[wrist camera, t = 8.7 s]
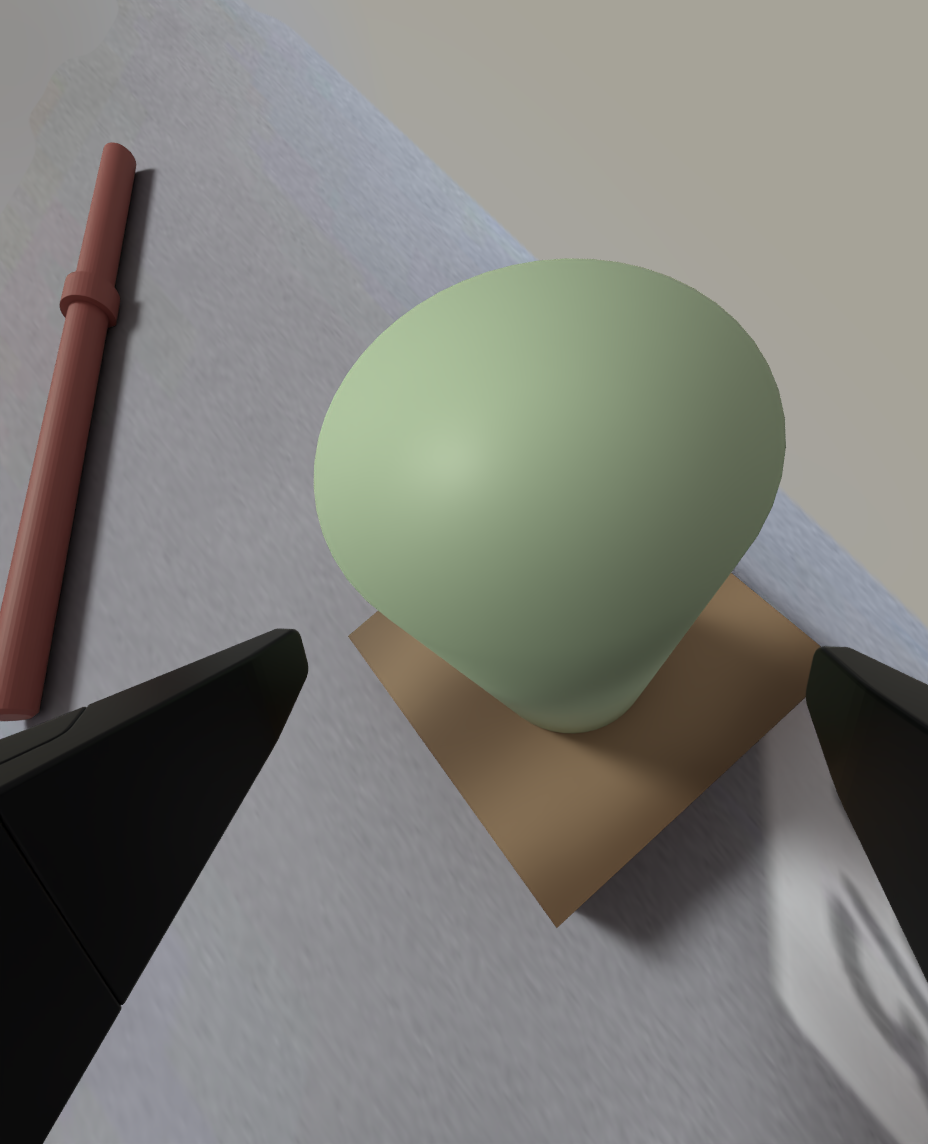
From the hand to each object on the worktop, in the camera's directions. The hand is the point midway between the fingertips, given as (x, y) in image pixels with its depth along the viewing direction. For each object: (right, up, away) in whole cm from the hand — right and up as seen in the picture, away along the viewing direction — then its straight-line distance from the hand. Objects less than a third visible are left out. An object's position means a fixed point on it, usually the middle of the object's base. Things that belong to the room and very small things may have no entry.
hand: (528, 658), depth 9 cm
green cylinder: (+2, -1, +9) cm, 9 cm away
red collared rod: (-26, +14, +26) cm, 39 cm away
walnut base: (+3, -2, +12) cm, 12 cm away
